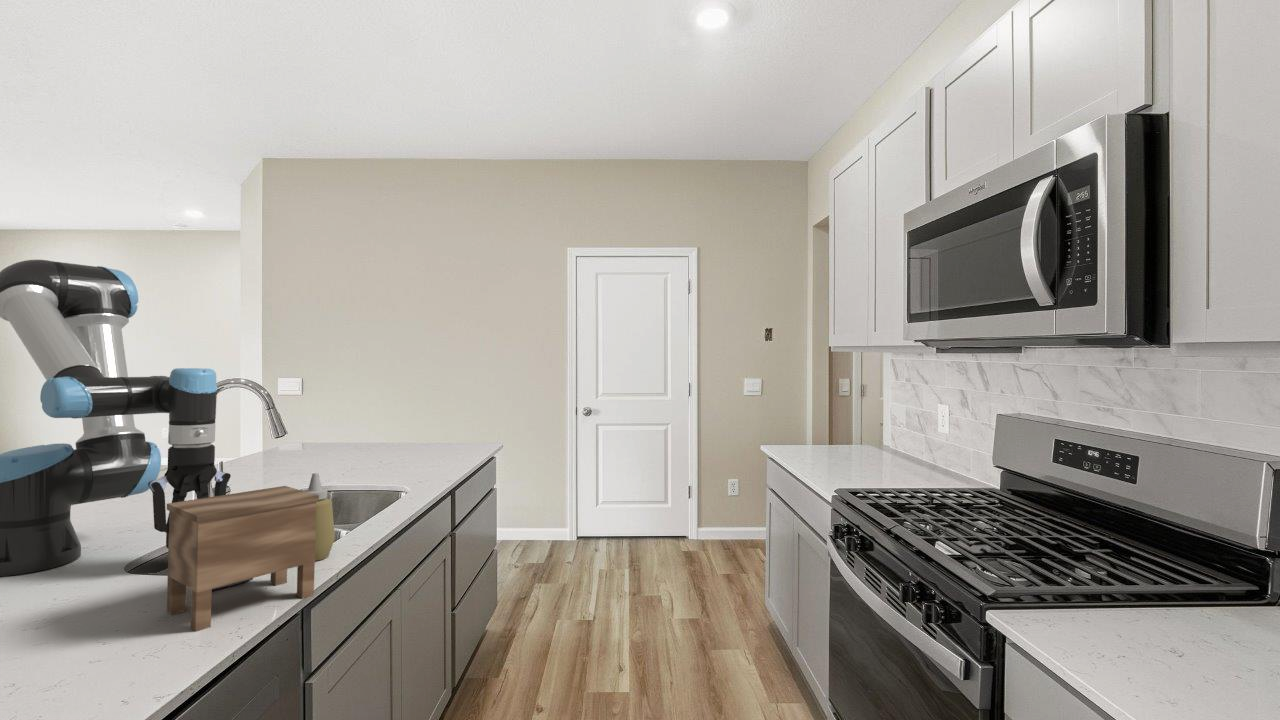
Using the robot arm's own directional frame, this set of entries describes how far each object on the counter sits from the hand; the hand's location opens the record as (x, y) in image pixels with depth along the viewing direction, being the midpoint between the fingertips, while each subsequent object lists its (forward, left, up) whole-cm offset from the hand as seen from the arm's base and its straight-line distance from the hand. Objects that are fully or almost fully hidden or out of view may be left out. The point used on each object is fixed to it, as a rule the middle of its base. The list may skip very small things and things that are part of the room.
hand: (188, 561), depth 118 cm
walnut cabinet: (+27, -1, -1) cm, 27 cm away
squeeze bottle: (+13, +18, -2) cm, 22 cm away
